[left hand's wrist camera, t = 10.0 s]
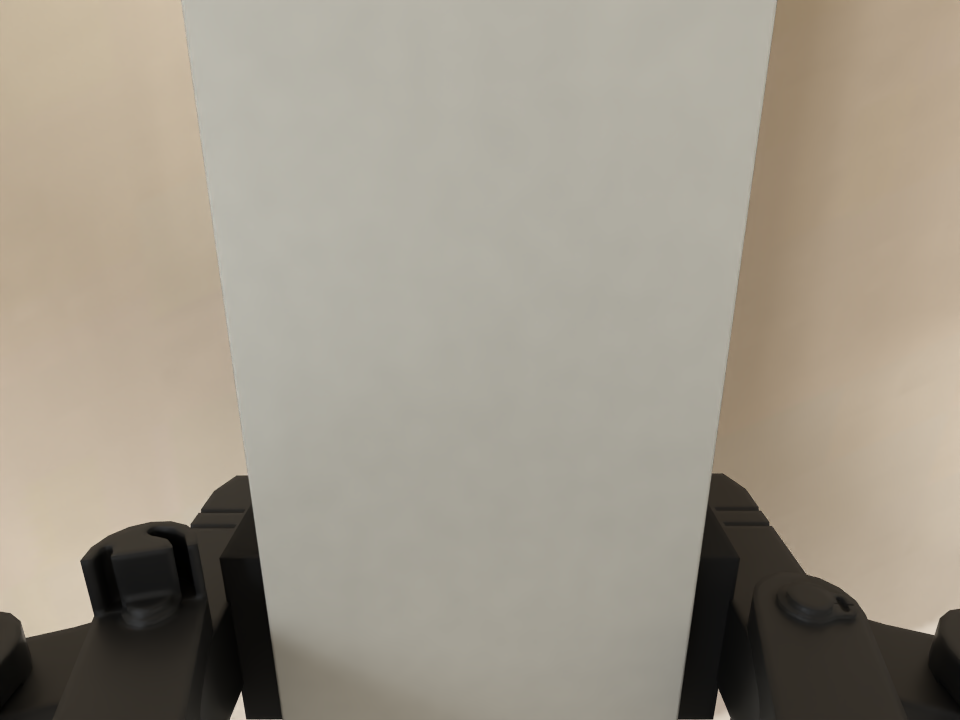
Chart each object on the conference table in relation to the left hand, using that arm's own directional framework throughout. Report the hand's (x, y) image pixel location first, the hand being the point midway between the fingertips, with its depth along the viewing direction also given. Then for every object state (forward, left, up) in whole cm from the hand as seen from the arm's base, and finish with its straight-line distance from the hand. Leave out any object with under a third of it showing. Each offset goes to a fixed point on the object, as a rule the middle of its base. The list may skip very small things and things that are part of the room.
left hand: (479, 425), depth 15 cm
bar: (+18, +13, -1) cm, 23 cm away
